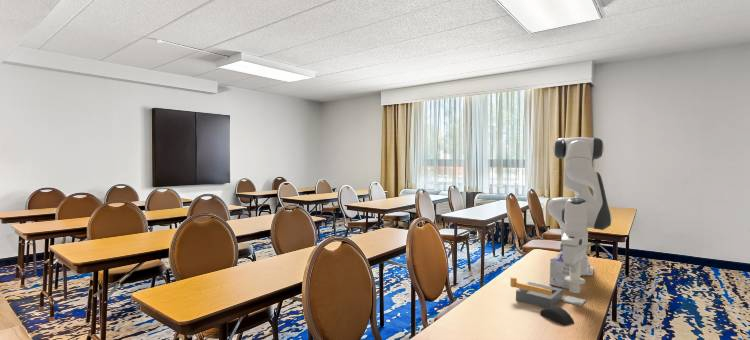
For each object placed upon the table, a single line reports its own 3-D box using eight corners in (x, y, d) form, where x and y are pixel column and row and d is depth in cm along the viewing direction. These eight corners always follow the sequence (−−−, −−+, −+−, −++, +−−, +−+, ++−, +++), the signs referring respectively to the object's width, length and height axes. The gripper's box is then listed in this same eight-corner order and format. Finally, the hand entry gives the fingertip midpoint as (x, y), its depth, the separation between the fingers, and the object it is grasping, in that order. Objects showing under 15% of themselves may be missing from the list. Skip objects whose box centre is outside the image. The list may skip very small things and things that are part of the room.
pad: (567, 297, 165) (567, 295, 165) (585, 301, 160) (585, 299, 160) (562, 301, 159) (562, 300, 159) (581, 306, 155) (581, 304, 155)
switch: (529, 290, 172) (529, 279, 172) (562, 298, 163) (562, 286, 163) (515, 299, 161) (516, 288, 161) (550, 309, 152) (550, 296, 151)
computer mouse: (549, 312, 150) (550, 301, 149) (575, 323, 139) (576, 312, 139) (538, 314, 147) (538, 304, 147) (563, 326, 137) (563, 315, 137)
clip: (511, 284, 164) (512, 276, 164) (552, 294, 153) (552, 285, 153) (509, 286, 162) (509, 278, 162) (550, 296, 151) (550, 287, 151)
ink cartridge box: (576, 287, 177) (576, 256, 176) (571, 290, 173) (571, 258, 173) (554, 282, 184) (555, 252, 184) (549, 284, 181) (549, 254, 180)
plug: (567, 287, 165) (568, 257, 164) (587, 291, 160) (587, 260, 159) (562, 291, 159) (562, 260, 159) (582, 296, 154) (582, 264, 154)
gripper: (574, 233, 168) (573, 264, 169) (559, 240, 153) (559, 274, 154) (590, 235, 164) (589, 267, 165) (577, 242, 149) (576, 278, 150)
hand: (574, 270), depth 159 cm, fingers closed on plug, 4 cm apart
